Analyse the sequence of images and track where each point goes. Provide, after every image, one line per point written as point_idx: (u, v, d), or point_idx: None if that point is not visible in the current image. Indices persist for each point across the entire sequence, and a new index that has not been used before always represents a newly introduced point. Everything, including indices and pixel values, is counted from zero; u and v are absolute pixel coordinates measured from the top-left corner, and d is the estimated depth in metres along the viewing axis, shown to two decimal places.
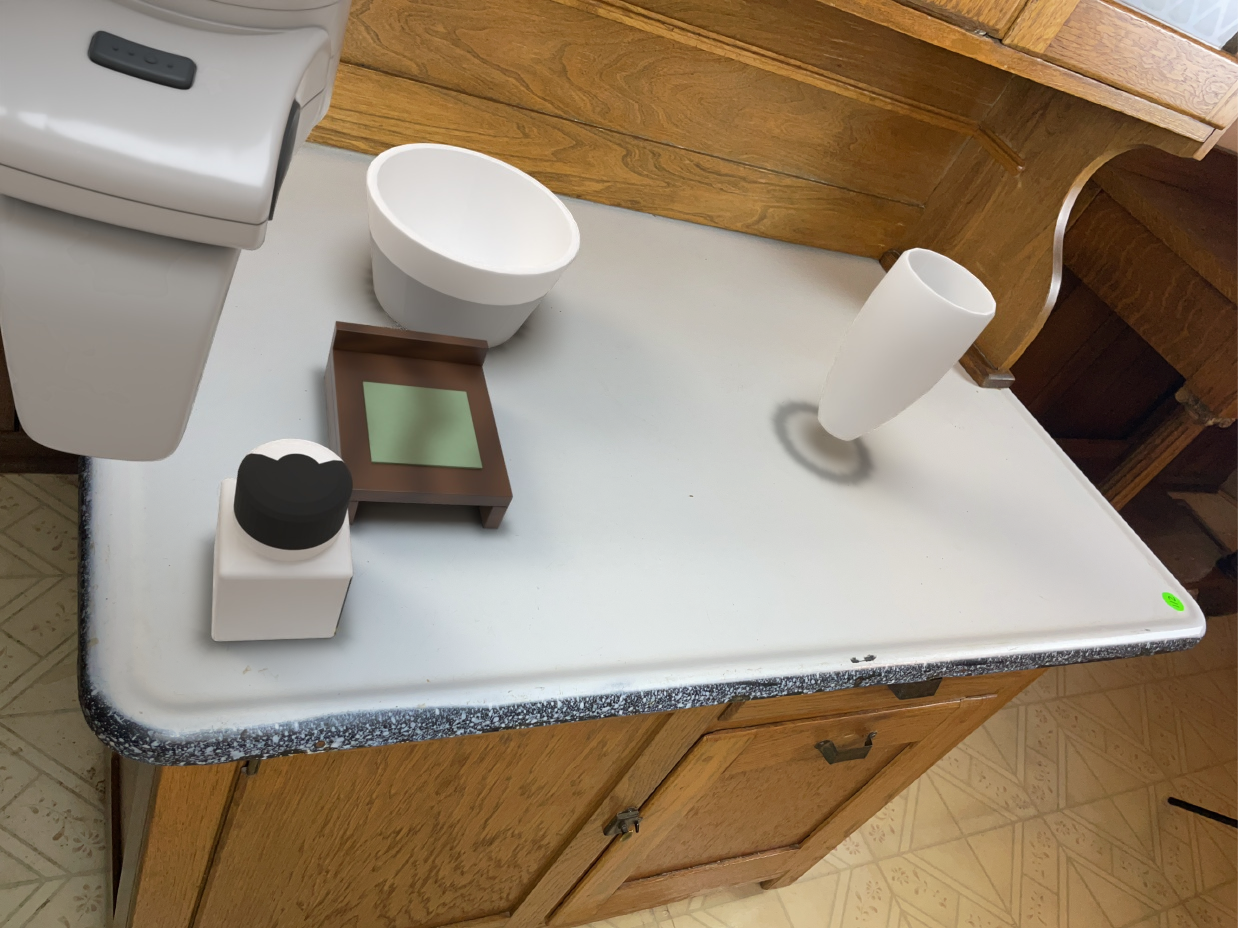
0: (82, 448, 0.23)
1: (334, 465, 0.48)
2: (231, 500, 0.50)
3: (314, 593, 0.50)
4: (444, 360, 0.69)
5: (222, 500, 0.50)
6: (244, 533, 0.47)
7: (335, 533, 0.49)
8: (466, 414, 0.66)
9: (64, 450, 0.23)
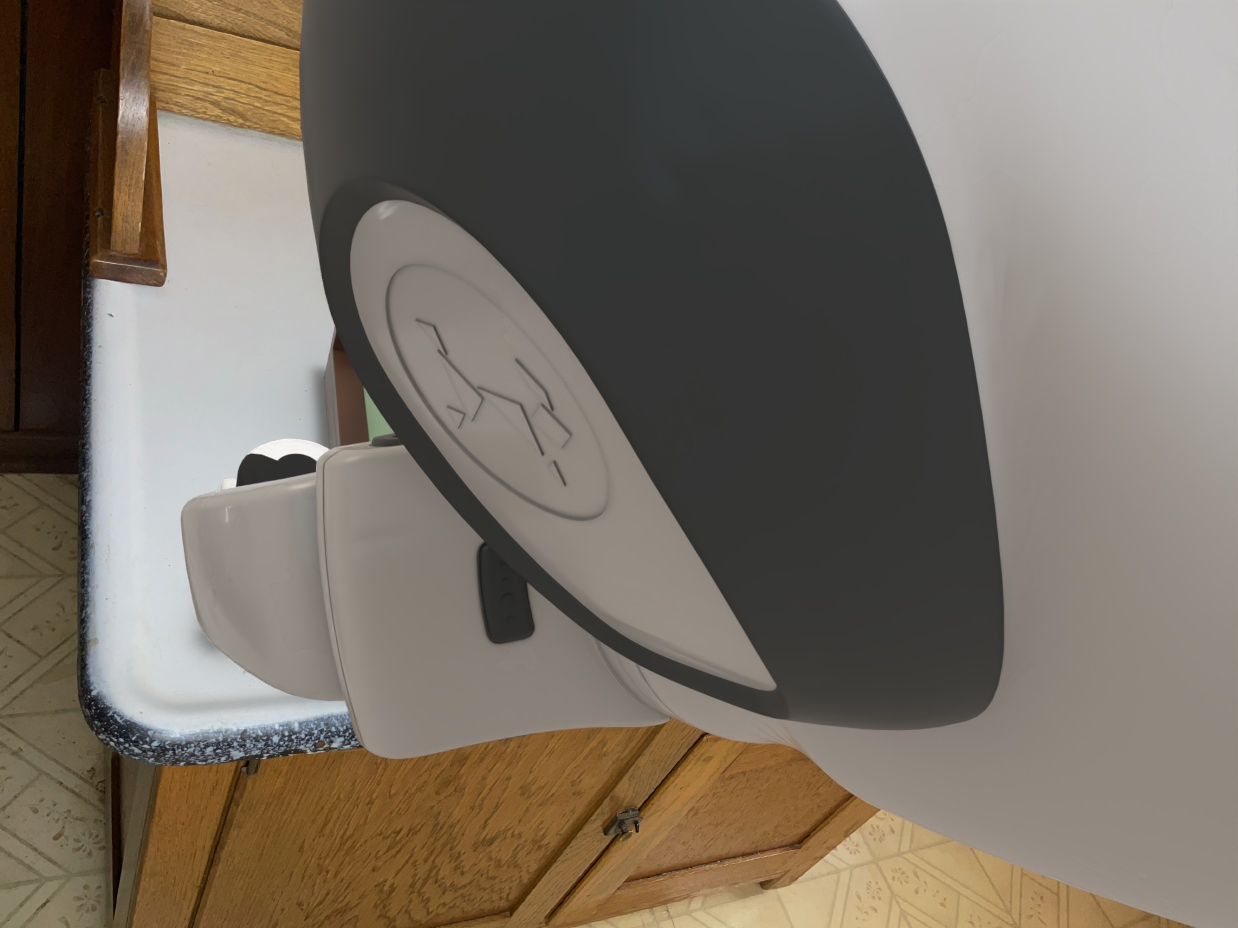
0: (185, 555, 0.22)
1: None
2: None
3: None
4: None
5: None
6: None
7: None
8: None
9: None
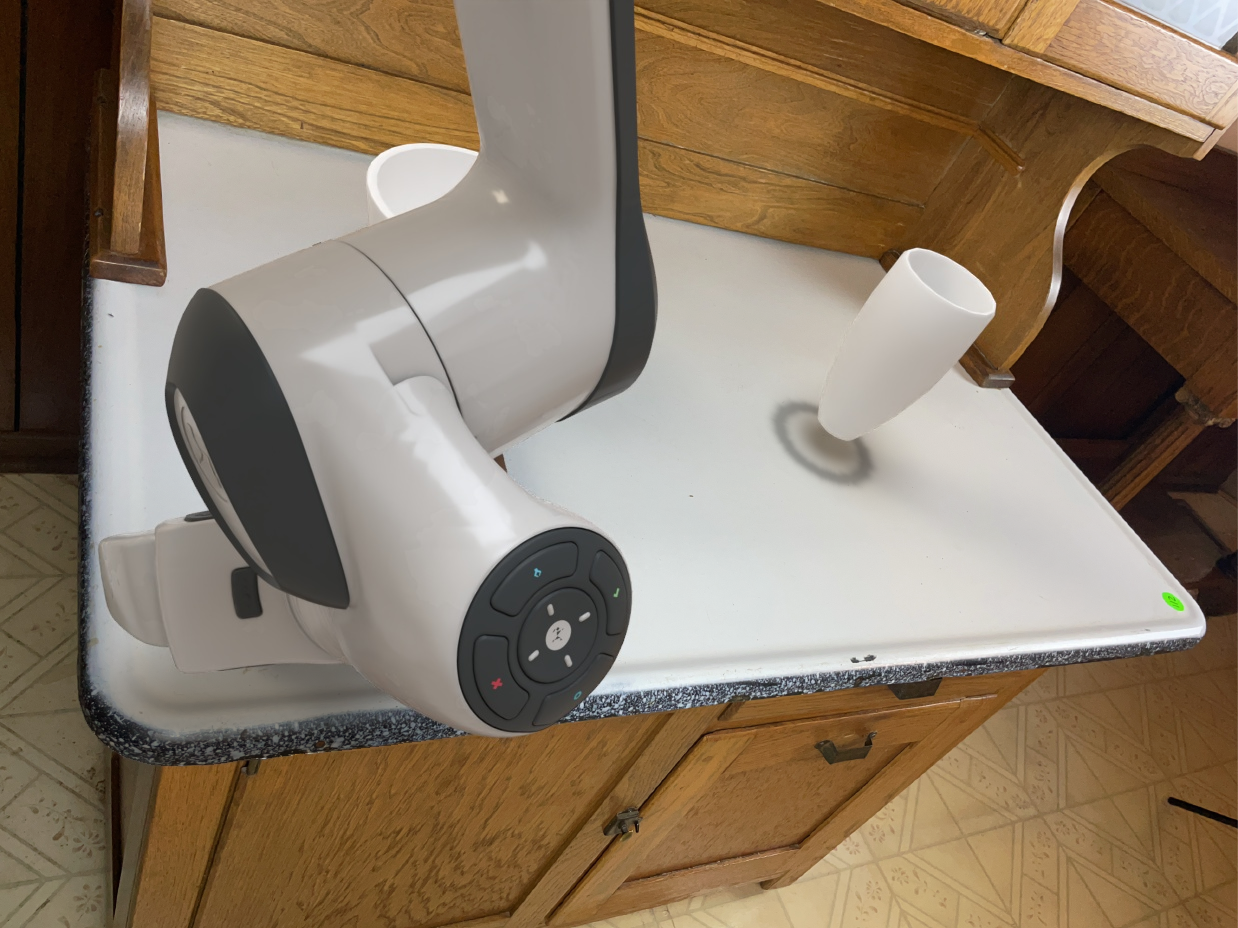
0: (100, 569, 0.40)
1: None
2: None
3: None
4: None
5: None
6: None
7: None
8: None
9: (99, 559, 0.40)
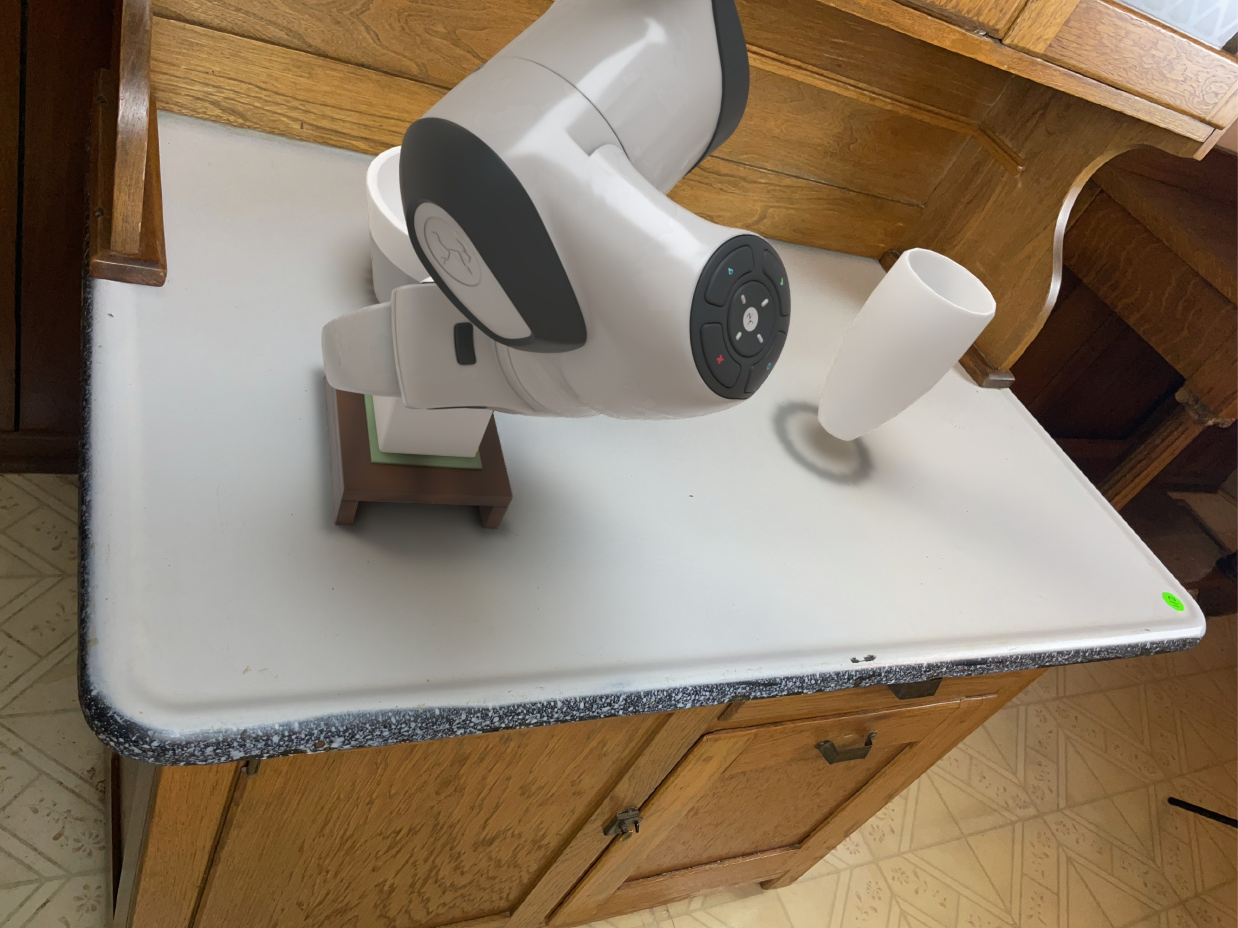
0: (323, 349, 0.49)
1: None
2: None
3: (468, 408, 0.59)
4: None
5: None
6: None
7: None
8: None
9: None
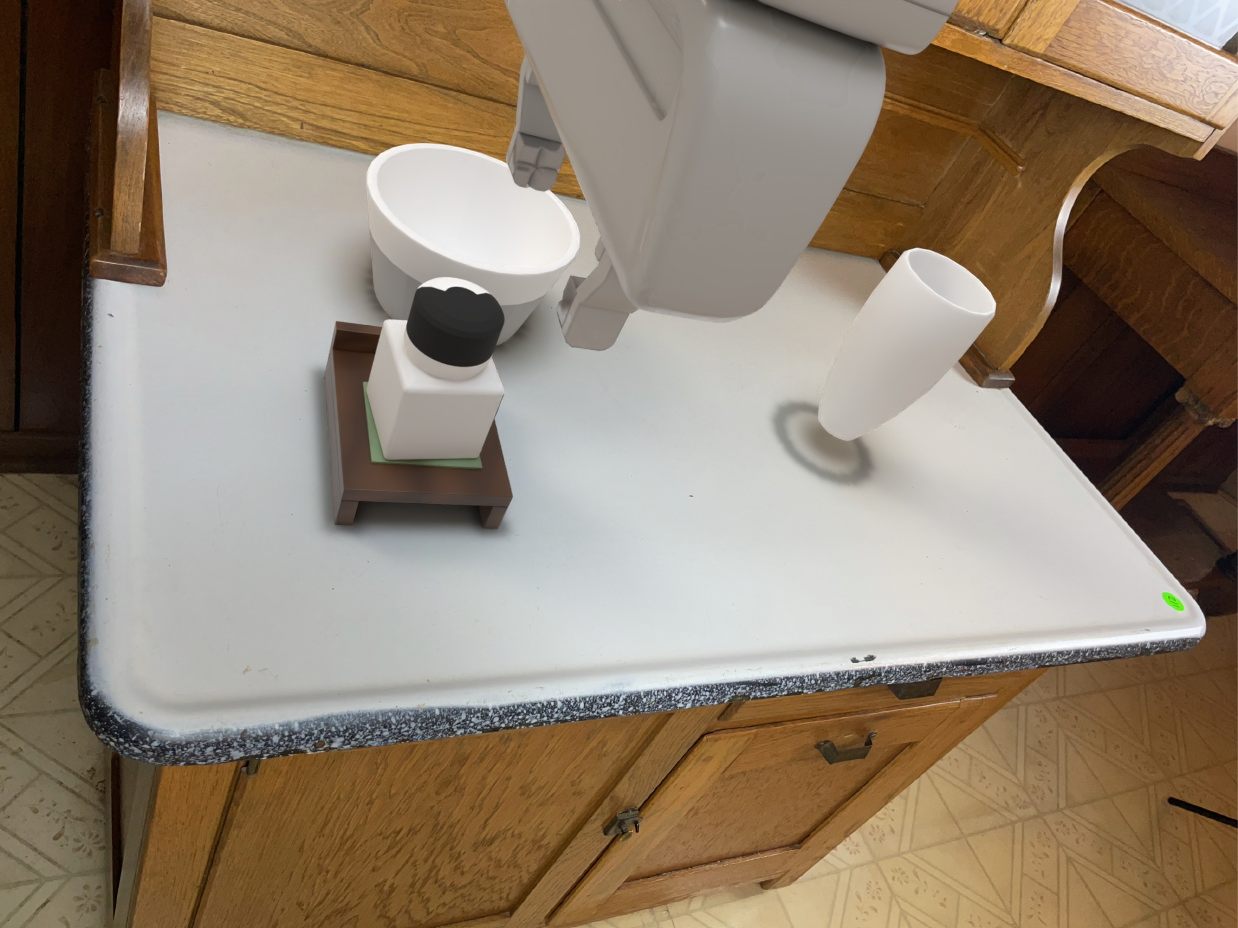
0: (694, 302, 0.21)
1: (488, 296, 0.57)
2: (397, 334, 0.58)
3: (473, 410, 0.59)
4: None
5: (389, 335, 0.58)
6: (421, 354, 0.56)
7: (491, 355, 0.58)
8: None
9: (674, 306, 0.21)
